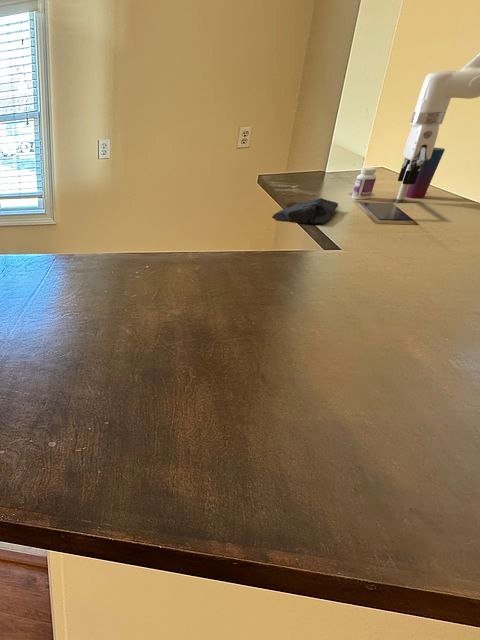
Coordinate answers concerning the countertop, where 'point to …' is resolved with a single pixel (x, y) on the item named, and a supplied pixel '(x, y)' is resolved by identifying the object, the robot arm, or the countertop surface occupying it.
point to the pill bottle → (364, 184)
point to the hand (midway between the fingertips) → (406, 181)
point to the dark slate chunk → (308, 212)
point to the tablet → (385, 213)
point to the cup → (425, 175)
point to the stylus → (402, 191)
